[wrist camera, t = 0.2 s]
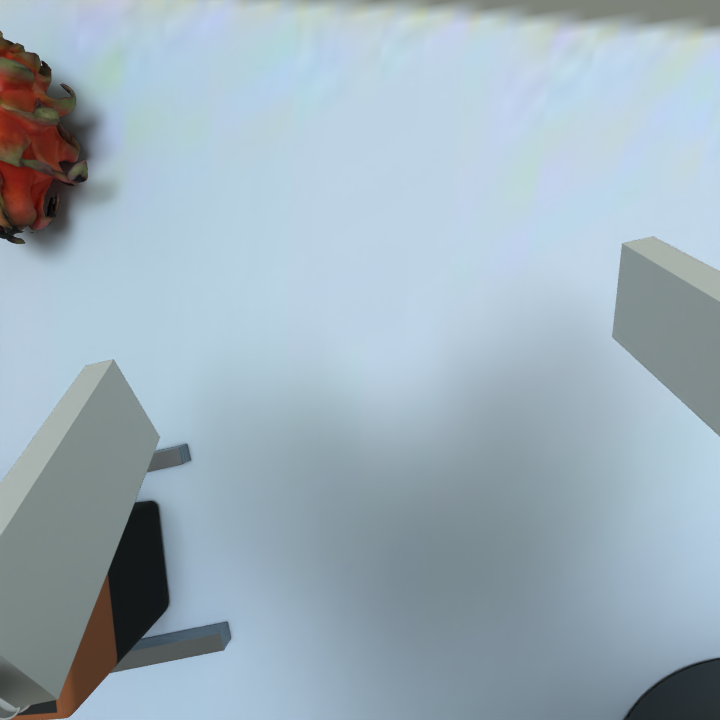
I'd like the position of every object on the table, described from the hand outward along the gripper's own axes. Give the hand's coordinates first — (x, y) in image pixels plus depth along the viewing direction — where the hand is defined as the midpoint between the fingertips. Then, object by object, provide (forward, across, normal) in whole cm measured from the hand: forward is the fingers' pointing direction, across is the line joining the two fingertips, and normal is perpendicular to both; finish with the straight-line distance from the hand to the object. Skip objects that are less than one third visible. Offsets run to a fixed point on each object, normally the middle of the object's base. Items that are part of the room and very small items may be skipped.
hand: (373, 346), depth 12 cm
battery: (+9, +17, +16) cm, 25 cm away
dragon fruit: (+23, +18, -4) cm, 29 cm away
